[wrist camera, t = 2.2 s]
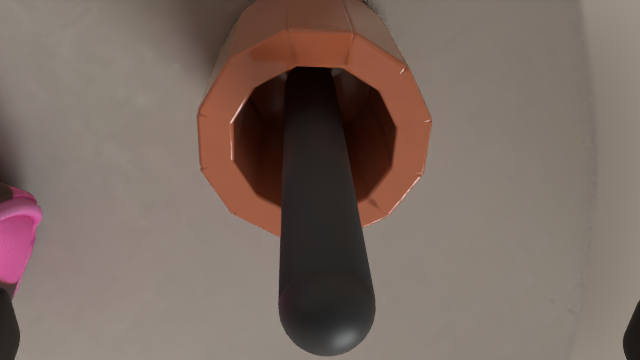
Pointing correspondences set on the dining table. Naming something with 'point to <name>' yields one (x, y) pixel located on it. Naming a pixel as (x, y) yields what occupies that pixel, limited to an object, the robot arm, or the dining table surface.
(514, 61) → the dining table surface
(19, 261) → the pencil case
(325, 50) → the pen cup
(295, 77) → the stylus
